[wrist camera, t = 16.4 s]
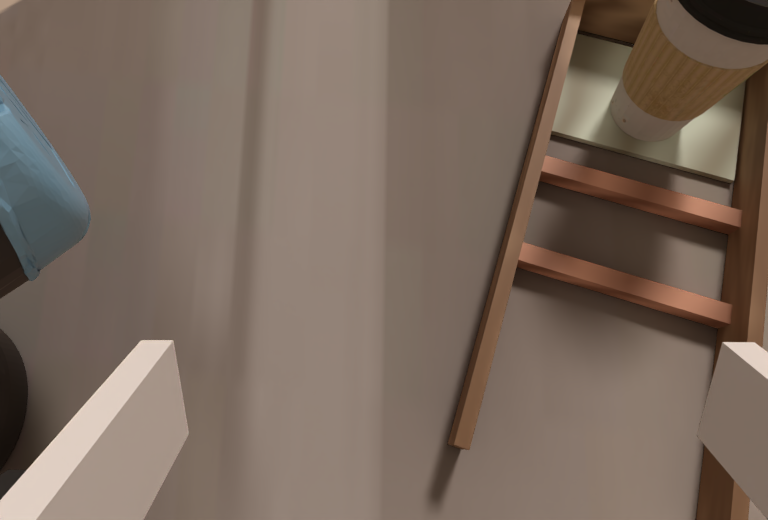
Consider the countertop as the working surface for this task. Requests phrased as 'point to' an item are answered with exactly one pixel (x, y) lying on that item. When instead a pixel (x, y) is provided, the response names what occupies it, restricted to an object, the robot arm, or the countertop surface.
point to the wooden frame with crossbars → (639, 207)
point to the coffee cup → (688, 63)
